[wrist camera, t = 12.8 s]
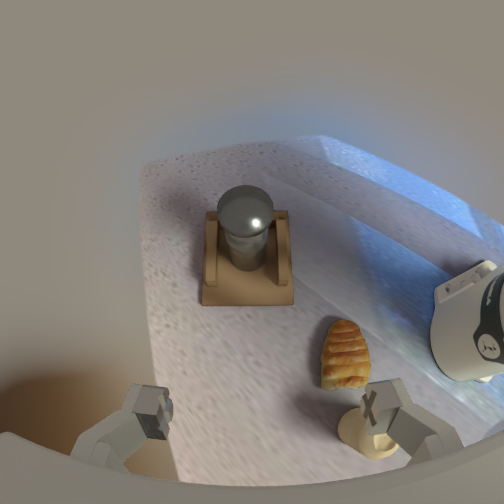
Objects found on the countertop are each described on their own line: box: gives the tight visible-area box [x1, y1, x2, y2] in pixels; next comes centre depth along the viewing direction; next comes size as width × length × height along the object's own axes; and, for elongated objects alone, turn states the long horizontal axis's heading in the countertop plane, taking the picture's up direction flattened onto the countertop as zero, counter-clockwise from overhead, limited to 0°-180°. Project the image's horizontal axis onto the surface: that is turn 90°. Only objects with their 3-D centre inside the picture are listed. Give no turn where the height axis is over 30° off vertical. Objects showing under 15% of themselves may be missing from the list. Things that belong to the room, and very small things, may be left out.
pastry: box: [320, 320, 371, 390], centre depth 36 cm, size 9×7×4 cm
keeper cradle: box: [202, 211, 294, 306], centre depth 41 cm, size 14×12×3 cm
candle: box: [338, 407, 399, 459], centre depth 29 cm, size 6×6×10 cm
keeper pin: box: [217, 185, 274, 272], centre depth 37 cm, size 6×6×12 cm
